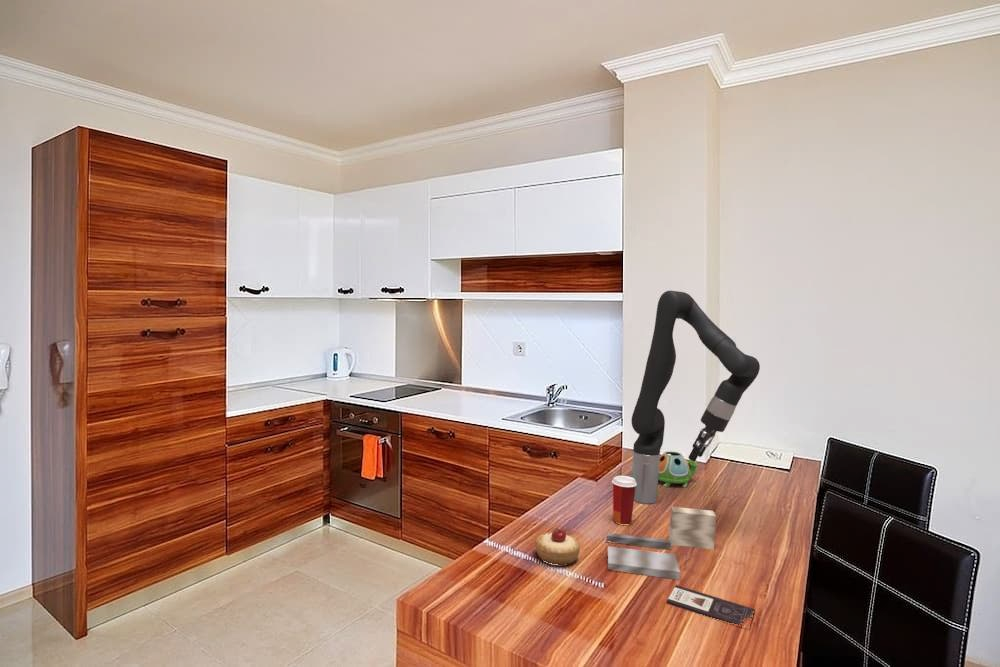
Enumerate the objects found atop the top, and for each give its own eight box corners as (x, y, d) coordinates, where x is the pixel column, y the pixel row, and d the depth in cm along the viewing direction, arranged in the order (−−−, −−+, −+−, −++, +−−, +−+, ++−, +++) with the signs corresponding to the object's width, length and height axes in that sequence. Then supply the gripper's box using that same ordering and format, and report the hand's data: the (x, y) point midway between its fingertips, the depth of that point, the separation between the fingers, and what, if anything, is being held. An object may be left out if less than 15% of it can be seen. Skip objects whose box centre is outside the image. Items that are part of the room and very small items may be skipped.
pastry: (587, 561, 149) (590, 529, 148) (559, 574, 141) (562, 541, 140) (553, 544, 158) (556, 514, 157) (525, 555, 149) (528, 524, 149)
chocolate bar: (749, 628, 119) (666, 601, 129) (749, 632, 119) (666, 605, 129) (755, 609, 127) (676, 585, 136) (754, 613, 127) (676, 588, 136)
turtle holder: (705, 487, 212) (707, 457, 212) (663, 489, 208) (665, 458, 207) (687, 477, 224) (689, 448, 224) (647, 478, 220) (649, 449, 219)
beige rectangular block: (670, 544, 160) (673, 511, 160) (669, 538, 164) (671, 506, 164) (713, 549, 158) (716, 516, 158) (710, 543, 162) (713, 510, 162)
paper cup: (636, 520, 177) (639, 477, 176) (631, 528, 170) (634, 484, 169) (612, 515, 181) (615, 473, 180) (606, 523, 174) (609, 480, 173)
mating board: (608, 570, 143) (608, 563, 143) (606, 539, 162) (607, 532, 162) (679, 579, 140) (680, 571, 140) (669, 546, 159) (670, 540, 159)
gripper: (711, 405, 177) (689, 448, 181) (701, 409, 165) (677, 454, 169) (734, 417, 174) (710, 460, 177) (725, 421, 162) (700, 468, 165)
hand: (694, 457), depth 173 cm, fingers open, 8 cm apart
